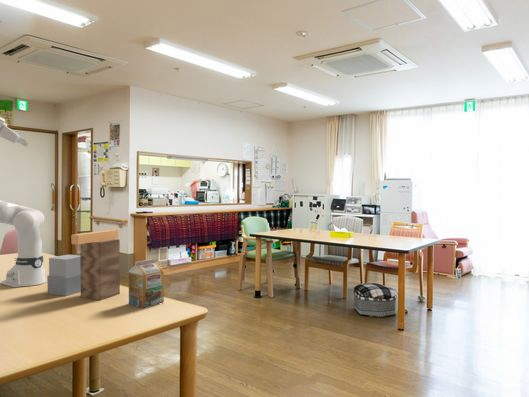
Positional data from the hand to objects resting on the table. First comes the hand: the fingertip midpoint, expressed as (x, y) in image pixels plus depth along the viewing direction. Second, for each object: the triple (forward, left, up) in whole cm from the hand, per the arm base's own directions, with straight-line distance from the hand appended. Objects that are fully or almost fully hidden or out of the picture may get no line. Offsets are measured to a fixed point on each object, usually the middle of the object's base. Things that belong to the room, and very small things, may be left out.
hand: (26, 144), depth 184 cm
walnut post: (+29, +14, -71) cm, 78 cm away
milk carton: (+57, +12, -71) cm, 92 cm away
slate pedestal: (+9, +13, -71) cm, 72 cm away
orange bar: (+29, +12, -45) cm, 55 cm away
